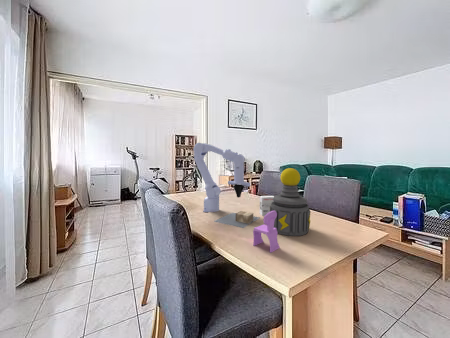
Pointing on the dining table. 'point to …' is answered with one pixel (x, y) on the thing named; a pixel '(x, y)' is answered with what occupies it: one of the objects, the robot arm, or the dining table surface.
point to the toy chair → (267, 231)
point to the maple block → (244, 217)
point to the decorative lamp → (291, 207)
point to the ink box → (265, 204)
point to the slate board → (234, 220)
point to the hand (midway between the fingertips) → (238, 197)
